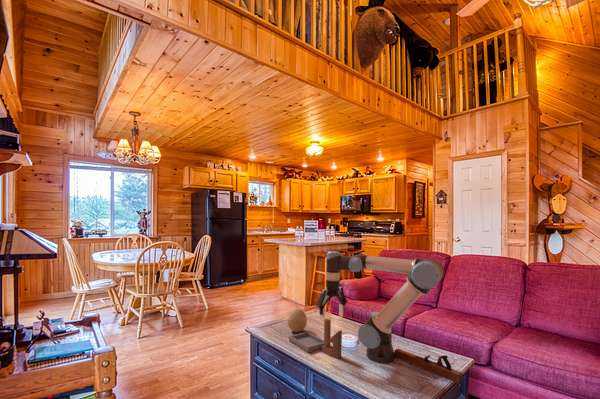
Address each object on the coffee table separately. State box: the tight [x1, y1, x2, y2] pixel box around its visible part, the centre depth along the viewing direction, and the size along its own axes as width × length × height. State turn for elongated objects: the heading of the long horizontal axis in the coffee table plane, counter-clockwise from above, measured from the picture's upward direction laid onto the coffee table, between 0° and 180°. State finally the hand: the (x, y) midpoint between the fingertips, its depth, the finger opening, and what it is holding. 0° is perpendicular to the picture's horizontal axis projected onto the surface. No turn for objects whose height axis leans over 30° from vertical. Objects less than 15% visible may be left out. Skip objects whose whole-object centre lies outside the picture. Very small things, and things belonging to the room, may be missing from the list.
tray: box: [288, 331, 324, 354], centre depth 183 cm, size 19×14×3 cm
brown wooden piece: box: [321, 318, 343, 360], centre depth 171 cm, size 4×11×18 cm, turn 46°
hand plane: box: [394, 347, 463, 384], centre depth 158 cm, size 34×5×10 cm, turn 43°
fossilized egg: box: [286, 307, 308, 333], centre depth 203 cm, size 13×13×15 cm
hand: (331, 318), depth 171 cm, fingers open, 13 cm apart
